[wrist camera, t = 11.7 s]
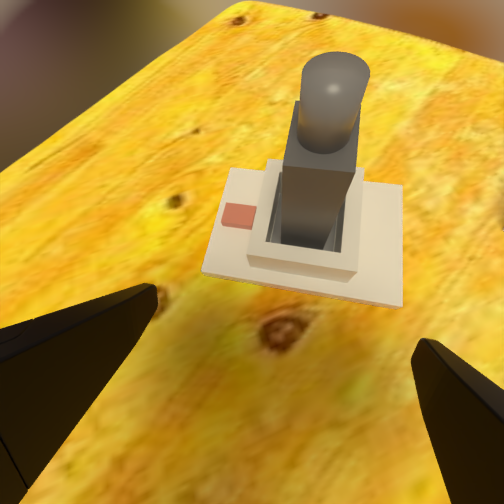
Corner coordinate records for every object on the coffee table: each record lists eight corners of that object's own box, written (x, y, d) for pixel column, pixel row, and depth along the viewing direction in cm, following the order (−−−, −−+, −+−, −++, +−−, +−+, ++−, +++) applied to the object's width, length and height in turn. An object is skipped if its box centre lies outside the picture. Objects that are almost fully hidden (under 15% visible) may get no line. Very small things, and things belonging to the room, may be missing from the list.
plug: (321, 252, 21) (379, 116, 9) (280, 246, 22) (283, 110, 10) (327, 206, 23) (382, 38, 11) (288, 201, 23) (299, 37, 11)
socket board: (395, 309, 20) (423, 298, 16) (204, 275, 23) (189, 259, 19) (396, 192, 24) (419, 161, 20) (232, 175, 27) (224, 144, 23)
